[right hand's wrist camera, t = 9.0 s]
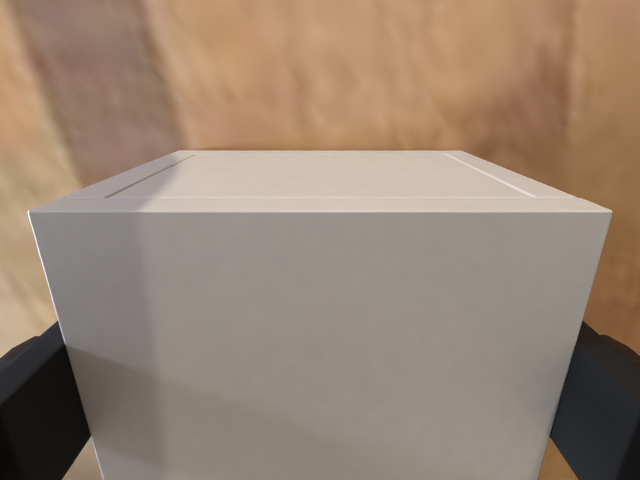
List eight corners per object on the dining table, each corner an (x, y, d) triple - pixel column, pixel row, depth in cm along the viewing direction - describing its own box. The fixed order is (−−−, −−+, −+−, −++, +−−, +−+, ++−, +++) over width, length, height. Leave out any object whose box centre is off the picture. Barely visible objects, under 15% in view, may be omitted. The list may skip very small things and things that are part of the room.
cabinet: (422, 458, 21) (482, 673, 13) (217, 458, 21) (157, 674, 13) (462, 150, 15) (615, 210, 7) (177, 150, 15) (25, 210, 7)
